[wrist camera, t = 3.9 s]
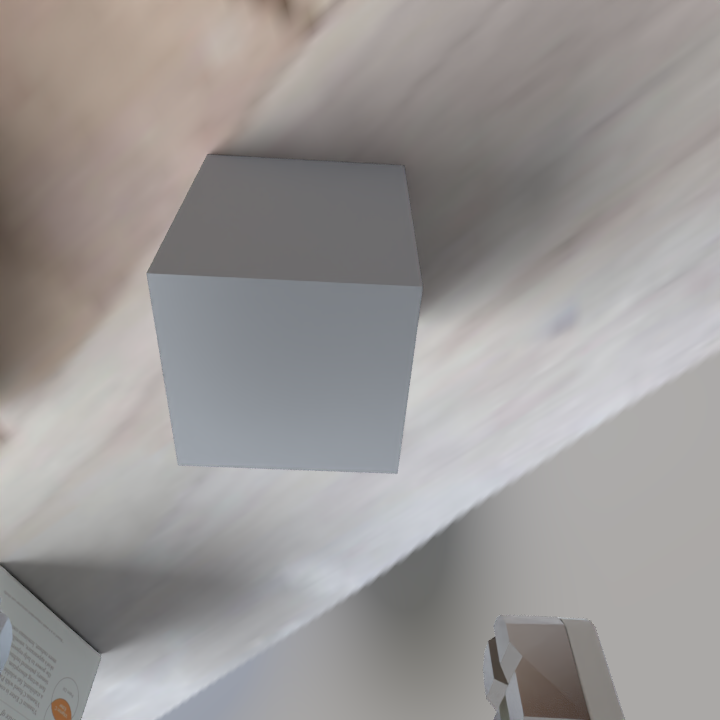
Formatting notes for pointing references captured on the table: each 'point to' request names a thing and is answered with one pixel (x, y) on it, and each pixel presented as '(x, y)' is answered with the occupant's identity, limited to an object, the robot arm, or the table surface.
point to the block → (289, 315)
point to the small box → (42, 661)
